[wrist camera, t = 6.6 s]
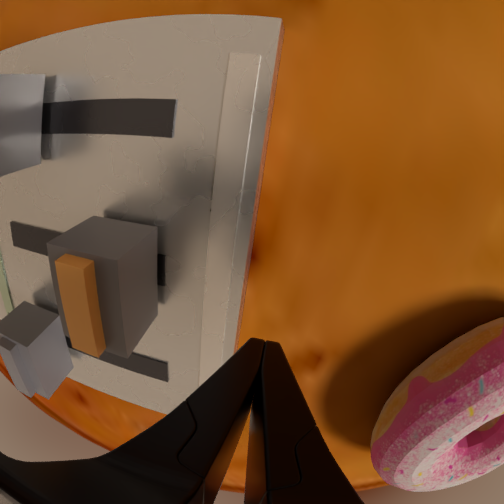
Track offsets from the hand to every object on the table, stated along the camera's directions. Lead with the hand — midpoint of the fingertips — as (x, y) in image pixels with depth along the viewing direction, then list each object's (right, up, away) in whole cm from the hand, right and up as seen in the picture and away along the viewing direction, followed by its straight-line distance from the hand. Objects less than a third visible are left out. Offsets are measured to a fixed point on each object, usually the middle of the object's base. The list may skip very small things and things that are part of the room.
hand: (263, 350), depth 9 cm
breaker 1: (-11, +9, +1) cm, 14 cm away
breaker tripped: (-6, +2, +3) cm, 7 cm away
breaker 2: (-12, -2, +6) cm, 14 cm away
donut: (+13, -6, +6) cm, 16 cm away
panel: (-9, +4, +5) cm, 11 cm away
